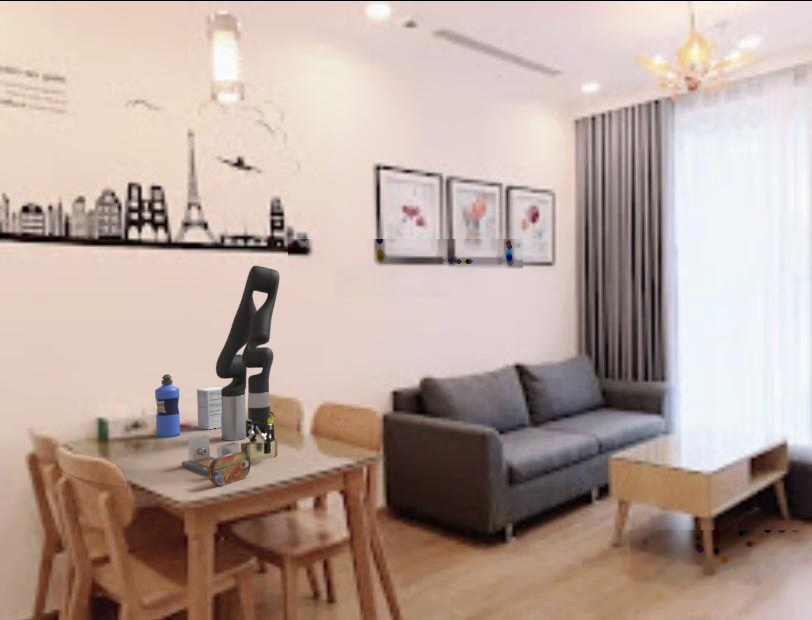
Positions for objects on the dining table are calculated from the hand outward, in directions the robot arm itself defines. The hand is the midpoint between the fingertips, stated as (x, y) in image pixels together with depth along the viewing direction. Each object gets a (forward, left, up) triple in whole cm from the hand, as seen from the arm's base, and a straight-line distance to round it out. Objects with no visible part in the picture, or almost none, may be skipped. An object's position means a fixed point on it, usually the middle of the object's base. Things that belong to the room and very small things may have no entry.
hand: (260, 451), depth 231 cm
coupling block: (0, 0, -2) cm, 2 cm away
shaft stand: (+1, -18, -2) cm, 18 cm away
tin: (+18, -22, -3) cm, 29 cm away
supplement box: (-65, +18, -3) cm, 68 cm away
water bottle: (-63, -3, -3) cm, 63 cm away
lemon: (-42, +30, -3) cm, 52 cm away
